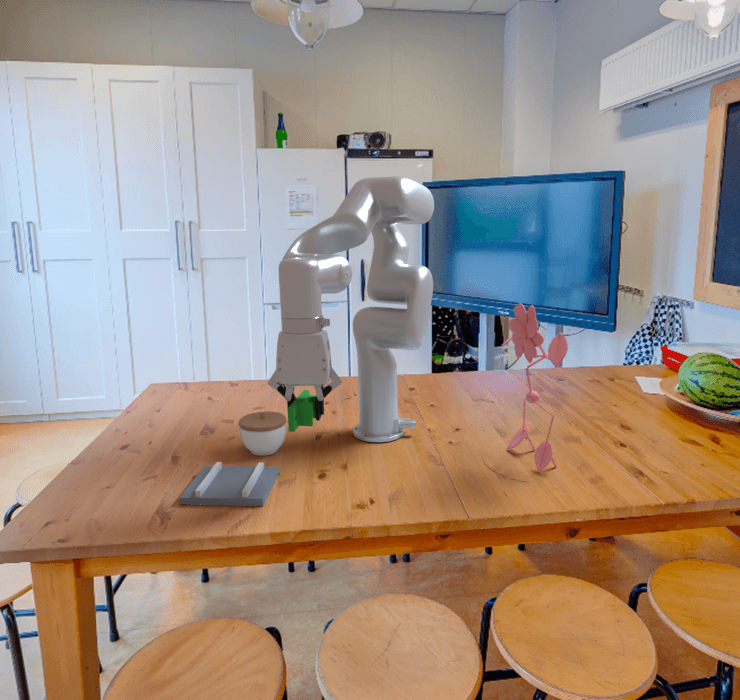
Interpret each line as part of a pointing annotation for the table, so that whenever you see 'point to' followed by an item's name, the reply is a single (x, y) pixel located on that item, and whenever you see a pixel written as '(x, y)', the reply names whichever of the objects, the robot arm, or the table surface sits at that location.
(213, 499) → the rail board
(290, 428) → the pipe clamp
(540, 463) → the figurine
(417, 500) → the table surface
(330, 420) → the table surface
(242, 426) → the lidded jar
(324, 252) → the robot arm
